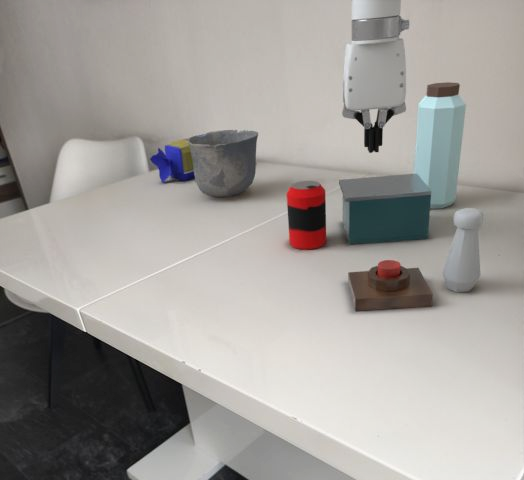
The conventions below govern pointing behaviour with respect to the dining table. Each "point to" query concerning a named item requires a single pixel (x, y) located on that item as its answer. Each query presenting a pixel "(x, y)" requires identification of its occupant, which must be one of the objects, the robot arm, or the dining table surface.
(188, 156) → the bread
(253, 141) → the cup
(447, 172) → the water bottle
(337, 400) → the dining table surface
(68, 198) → the dining table surface
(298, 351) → the dining table surface
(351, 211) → the tin
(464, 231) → the salt shaker
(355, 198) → the lid
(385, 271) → the button
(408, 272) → the button block
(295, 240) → the soda can
